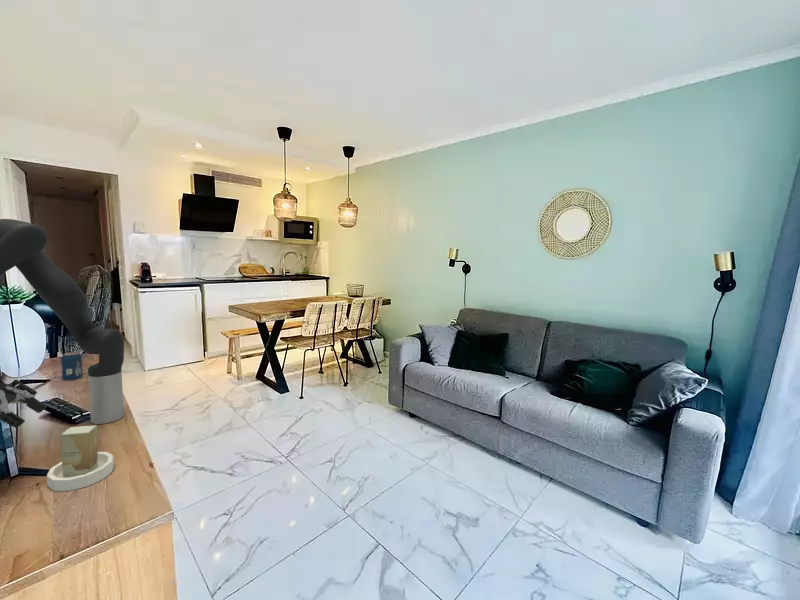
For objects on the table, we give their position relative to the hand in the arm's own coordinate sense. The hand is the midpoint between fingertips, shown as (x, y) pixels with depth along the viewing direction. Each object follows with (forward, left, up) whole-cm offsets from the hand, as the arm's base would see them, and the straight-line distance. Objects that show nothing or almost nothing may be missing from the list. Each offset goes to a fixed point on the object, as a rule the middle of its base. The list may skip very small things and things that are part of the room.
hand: (32, 416), depth 90 cm
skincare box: (+6, +7, -17) cm, 19 cm away
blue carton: (-83, +39, -18) cm, 94 cm away
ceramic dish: (+7, +7, -18) cm, 20 cm away
